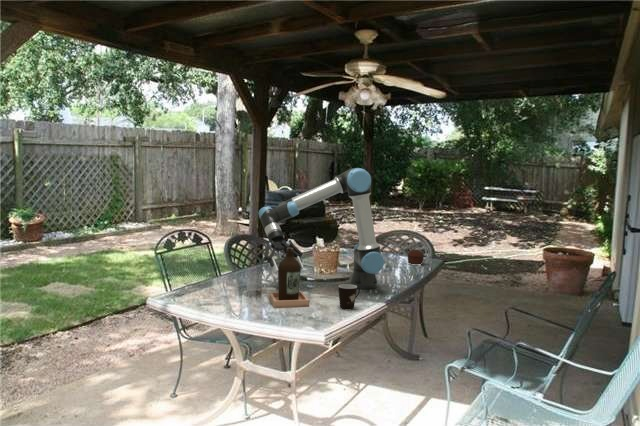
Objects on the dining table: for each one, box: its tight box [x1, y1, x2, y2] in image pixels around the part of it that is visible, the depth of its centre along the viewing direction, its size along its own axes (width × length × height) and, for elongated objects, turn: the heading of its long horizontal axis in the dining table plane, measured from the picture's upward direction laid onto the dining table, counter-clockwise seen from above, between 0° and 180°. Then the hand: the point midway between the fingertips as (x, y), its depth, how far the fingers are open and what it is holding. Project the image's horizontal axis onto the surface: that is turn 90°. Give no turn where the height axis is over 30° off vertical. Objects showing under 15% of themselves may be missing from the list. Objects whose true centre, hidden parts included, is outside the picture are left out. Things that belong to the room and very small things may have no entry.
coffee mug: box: [337, 283, 361, 310], centre depth 230 cm, size 12×9×10 cm
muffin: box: [407, 249, 425, 264], centre depth 341 cm, size 12×11×10 cm
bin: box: [268, 291, 310, 309], centre depth 236 cm, size 16×16×3 cm
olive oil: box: [277, 248, 302, 300], centre depth 235 cm, size 11×11×25 cm
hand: (289, 270), depth 234 cm, fingers open, 13 cm apart
